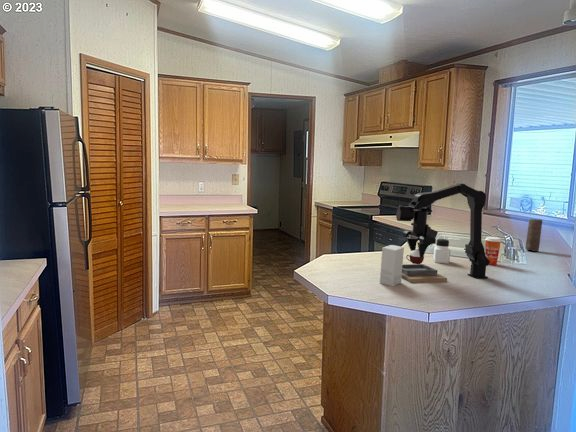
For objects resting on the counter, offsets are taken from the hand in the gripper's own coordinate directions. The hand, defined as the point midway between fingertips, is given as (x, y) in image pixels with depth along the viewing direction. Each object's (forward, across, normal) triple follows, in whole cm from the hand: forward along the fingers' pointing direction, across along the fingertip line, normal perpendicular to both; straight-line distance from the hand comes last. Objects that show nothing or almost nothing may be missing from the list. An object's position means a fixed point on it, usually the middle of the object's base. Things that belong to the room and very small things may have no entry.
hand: (417, 255), depth 197 cm
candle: (+10, +46, -107) cm, 117 cm away
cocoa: (+4, 0, 0) cm, 4 cm away
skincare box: (+9, -11, +18) cm, 23 cm away
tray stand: (+9, 0, 0) cm, 9 cm away
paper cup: (+10, +17, -54) cm, 57 cm away
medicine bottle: (+10, +24, -29) cm, 39 cm away
